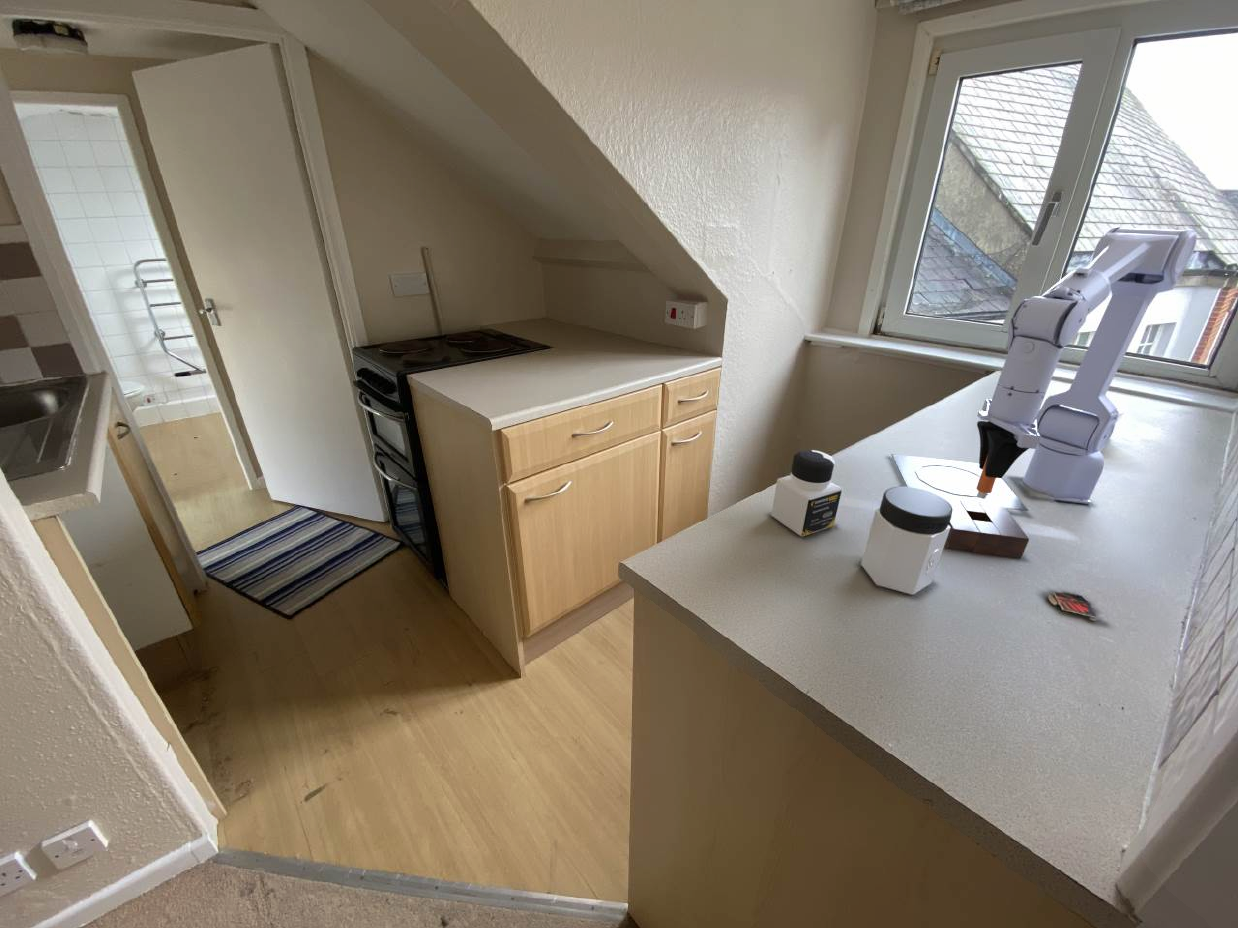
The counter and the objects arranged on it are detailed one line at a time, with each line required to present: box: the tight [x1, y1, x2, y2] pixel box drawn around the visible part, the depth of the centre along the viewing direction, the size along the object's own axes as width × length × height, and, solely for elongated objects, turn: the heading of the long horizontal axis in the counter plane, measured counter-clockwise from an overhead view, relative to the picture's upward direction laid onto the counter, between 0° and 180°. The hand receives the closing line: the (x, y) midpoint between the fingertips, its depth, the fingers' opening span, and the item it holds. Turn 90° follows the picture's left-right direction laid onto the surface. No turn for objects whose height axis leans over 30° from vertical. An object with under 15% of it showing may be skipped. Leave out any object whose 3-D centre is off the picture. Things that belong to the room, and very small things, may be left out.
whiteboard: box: [891, 453, 1029, 512], centre depth 98 cm, size 18×18×1 cm
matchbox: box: [1046, 591, 1102, 623], centre depth 68 cm, size 5×5×1 cm
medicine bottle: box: [771, 449, 843, 537], centre depth 84 cm, size 7×7×12 cm
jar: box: [860, 486, 953, 596], centre depth 72 cm, size 9×8×12 cm
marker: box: [976, 455, 996, 499], centre depth 80 cm, size 2×2×10 cm
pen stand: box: [944, 498, 1030, 559], centre depth 83 cm, size 10×10×4 cm
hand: (990, 472), depth 80 cm, fingers closed on marker, 2 cm apart
